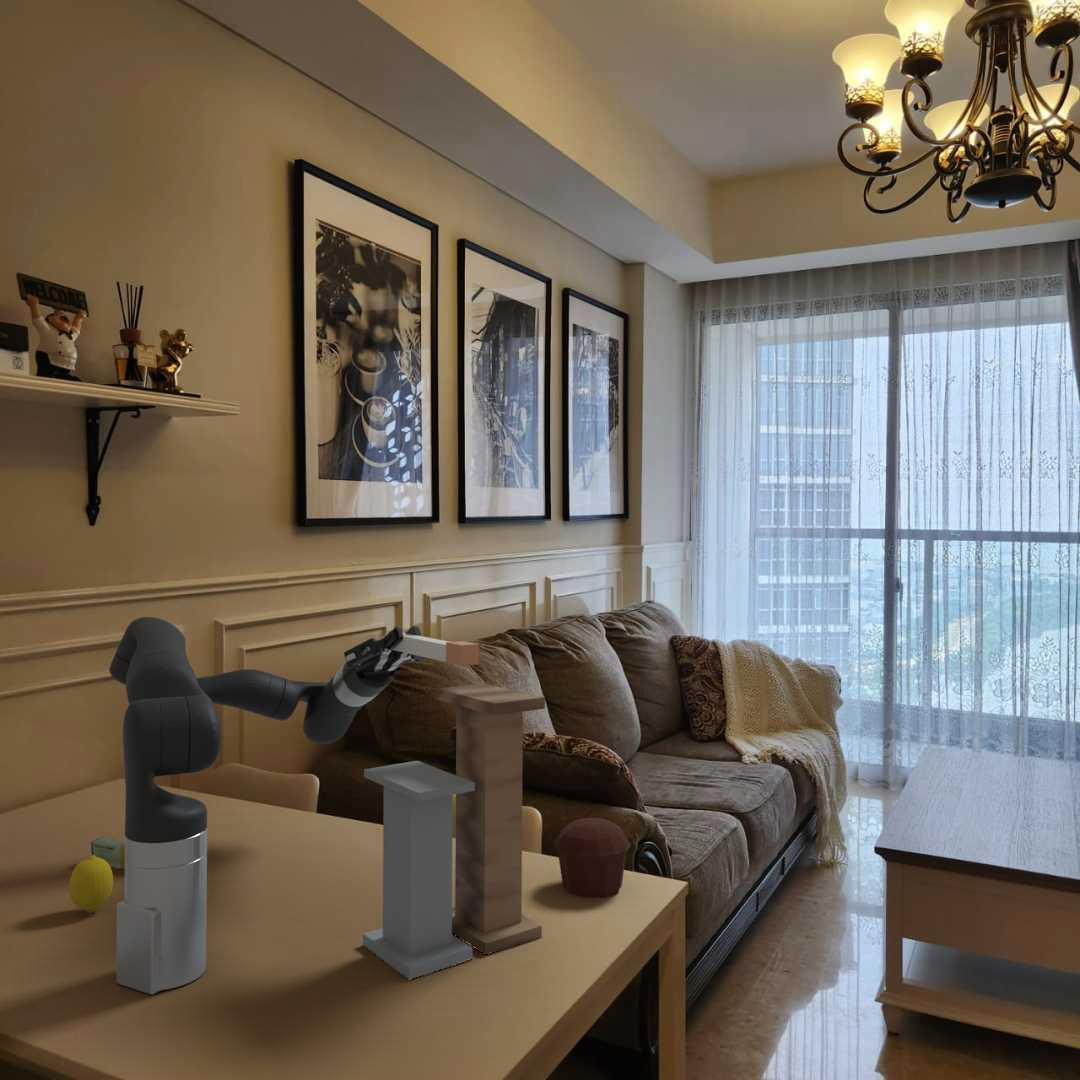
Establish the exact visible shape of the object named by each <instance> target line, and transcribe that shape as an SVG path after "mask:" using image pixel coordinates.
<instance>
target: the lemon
mask: <svg viewBox="0 0 1080 1080" xmlns="http://www.w3.org/2000/svg"><path fill="white" fill-rule="evenodd" d="M68 886H69V889H68V890H69V896H70V899H71V901H72V903H73V904H74V905H75V906H76V907H78V908H79V909H82V910H85V911H86V912H88V913H90V914H91V912H92V913H94V912H95V911H96V910H97V909H98V908H100V907H101V906H103V905H104V904H106V902H107V901H108V900H109V898H110V896H111V894H112V893H113V888H114V874H113V871H112V867H110V865H109V864H108V863H107V862H106V861H105V860H104V859H101V858H98V857H95V856H94V855H92V854H91V855H89V856H88V857H87V858H84V859H83V860H82V861H80V862H79V863H77V864H76V866H75V867H74V869H73V871H72V873H71V876H70V880H69V885H68Z"/></svg>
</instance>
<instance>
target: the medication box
mask: <svg viewBox="0 0 1080 1080" xmlns="http://www.w3.org/2000/svg"><path fill="white" fill-rule="evenodd" d="M90 844H91V845H90V847H91V849H90V851H91V855H94V856H95V857H98V858H101V859H104V860H105V861H106V862H107V863H108V864H109V865H110V866H111V868H112V867H117V868H116V869H118V868H123V869H122V870H124V869H125V839H119V838H118V839H117V838H113V837H106V836H101V837H98V838H95V839H94V840H92V841H91V842H90Z"/></svg>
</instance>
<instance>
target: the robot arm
mask: <svg viewBox="0 0 1080 1080" xmlns="http://www.w3.org/2000/svg"><path fill="white" fill-rule="evenodd" d="M402 629H403V628H402V626H395V627H393V628H392V630H390V631H389V632H387V633H388V634H387V635H386V634H385V635H382V636H380V637H379V639H378V640H377V639H376V638H374V637H373V638H369V639H367V640H365V641H363V642H362V643H359V644H357V645H355V646H354V647H351V648H350V649H348V650H346V651H344V652H343V655H344V660H345V662H344V663H343V664H342V665H341V666H340V667H339V669H338V670H337V672H336V673H335V675H334V676H333V677H332V678H331V679H330V680H329V681H328V682H323V681H322V682H316V681H315V682H313V681H301V680H291V679H289V678H288V679H287V678H285V677H281V676H278V675H275V674H272V673H270V672H266V671H263V670H259V669H249V668H248V669H238V670H233V671H228V672H227V671H226V672H223V673H217V674H215V675H213V674H212V675H209V676H208V675H207V676H202V677H197V676H196V674H195V673H196V672H195V671H194V669H193V667H192V665H191V664H190V661H189V658H188V656H187V651H186V637H185V636H184V634H183V633H182V631H181V630H180V629H179V628H178V627H176V626H175V625H174V624H172V623H170V622H168V621H166V620H164V619H162V618H158V617H152V616H141V617H139V618H136V619H133V621H131V622H130V623H129V625H128V626H127V628H126V629H125V631H124V633H123V636H122V637H121V639H120V642H119V644H118V646H117V648H116V651H115V654H114V656H113V658H112V660H111V663H110V665H109V674H110V676H111V677H112V678H113V679H115V680H116V682H119V683H121V684H123V685H125V692H126V698H127V701H128V706H127V708H126V711H125V712H124V717H123V723H122V725H123V726H122V746H123V762H124V766H123V767H124V780H125V781H124V782H125V783H124V785H125V810H124V811H125V813H124V815H125V818H124V840H125V870H124V882H123V883H124V886H123V887H124V896H123V899H124V900H121V901H119V902H118V903H117V905H116V973H115V974H116V980H115V982H116V984H119V985H121V986H125V987H127V988H131V989H134V990H137V991H139V992H143V993H145V994H148V995H155V994H156V993H158V992H160V991H165V990H171V989H175V988H179V987H181V986H185V985H187V984H190V983H191V982H193V981H196V980H197V979H199V978H200V977H201V976H202V975H203V974H204V973H205V971H206V969H207V910H208V909H207V903H208V901H207V900H208V899H207V897H208V896H207V895H208V893H207V891H208V886H207V885H208V884H207V881H208V879H207V878H208V876H207V875H208V809H207V806H206V805H205V804H204V802H203V801H201V800H199V799H197V798H194V797H189V796H185V795H181V794H176V793H174V792H173V793H172V792H170V791H167V790H165V789H163V788H162V787H160V786H158V785H157V784H156V783H155V782H154V779H155V778H156V777H163V776H173V775H175V776H176V775H183V774H194V773H198V772H201V771H204V770H207V769H209V768H210V767H211V766H213V765H214V763H215V762H216V760H217V759H218V757H219V755H220V752H221V747H222V739H223V734H222V733H223V731H222V725H221V720H220V715H219V713H218V710H217V708H216V706H215V704H216V705H221V706H227V707H231V708H236V709H239V710H244V711H247V712H250V713H253V714H257V715H260V716H263V717H267V718H270V719H274V720H276V721H287V720H288V719H289V718H290V717H292V716H293V713H294V711H296V708H297V706H298V705H299V702H304V703H307V704H306V708H305V713H304V717H303V718H304V719H303V721H302V731H303V734H304V736H305V737H306V738H307V739H308V740H309V741H311V742H312V743H314V744H317V745H329V744H332V743H335V742H337V741H339V739H340V740H341V738H342V737H343V736H344V735H345V733H346V732H347V730H348V729H349V727H350V725H351V724H352V722H353V720H354V718H355V716H356V714H357V712H358V711H360V710H361V709H362V707H364V706H365V705H366V704H368V703H369V702H371V701H372V700H373V699H374V698H376V697H377V696H378V695H379V694H380V693H381V692H382V691H383V690H384V689H385V688H386V687H387V686H389V685H390V684H391V682H392V681H393V680H394V678H395V675H396V672H397V669H398V668H399V667H401V666H404V664H405V662H406V661H408V660H409V661H410V660H411V661H412V662H414V663H419V662H422V660H423V659H422V656H417V655H413V654H408V653H404V652H400V651H395V650H391V649H394V648H395V647H396V646H397V645H398V644H399V643H400V642H401V641H402V640H403V633H404V632H403V630H402ZM405 633H407V634H412V635H418V636H422V633H421V629H420V627H419V626H418V625H412V626H410V628H408V630H406V632H405Z"/></svg>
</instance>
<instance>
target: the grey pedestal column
mask: <svg viewBox="0 0 1080 1080" xmlns="http://www.w3.org/2000/svg"><path fill="white" fill-rule="evenodd" d="M363 777H364V778H365V779H368V780H370V781H372V782H375V783H377V784H379V785H381V786H383V818H382V819H383V822H382V823H383V825H382V826H383V828H382V829H383V835H382V837H383V838H382V839H383V840H382V841H383V842H382V843H383V845H382V846H383V848H382V850H383V851H382V854H383V855H382V858H383V859H382V927H381V928H378V929H375V930H371V931H367V932H363V933H362V945H363V947H365V948H366V947H367V948H368V950H369V951H370V950H371V951H372V952H371V951H370V952H371V953H373V954H374V953H375V954H376V956H377V957H378V956H379V957H380V960H382V959H383V960H384V961H383V962H385V963H386V962H387V963H388V964H387V963H386V964H387V965H389V964H390V965H391V966H392V967H391V966H390V965H389V966H390V967H391V968H393V967H394V968H393V970H395V969H396V970H395V971H396V972H398V971H399V972H400V973H399V972H398V973H399V974H401V975H402V974H403V975H404V976H405V977H404V976H403V975H402V976H403V977H404V978H406V977H407V978H408V979H412V980H414V979H413V978H415V979H417V978H416V977H418V978H420V977H419V976H421V977H423V976H422V975H424V976H426V975H425V974H427V975H429V974H428V973H430V974H432V973H431V972H433V973H435V972H434V971H437V970H440V969H443V970H445V969H444V968H446V967H448V966H452V965H453V964H457V963H459V962H462V961H466V960H467V959H471V958H472V959H473V949H474V948H473V947H472V946H470V945H468V944H467V943H465V942H464V941H462V940H461V939H459V938H457V937H456V936H454V935H453V934H452V908H453V809H454V808H453V807H454V806H453V804H454V803H453V802H454V800H453V798H454V797H453V795H454V796H456V794H460V793H465V792H470V791H475V782H472V781H469V780H467V779H464V778H462V777H459V776H456V774H453V773H451V772H448V771H446V770H442V769H440V768H438V767H435V766H433V765H430V764H427V763H425V762H422V761H419V760H413V761H408V762H402V763H395V764H390V765H389V764H387V765H384V766H383V765H382V766H377V767H376V766H375V767H371V768H365V769H363ZM367 948H366V949H367ZM375 954H374V955H375ZM379 957H378V958H379ZM452 967H453V966H452ZM446 969H447V968H446ZM440 971H441V970H440ZM437 972H438V971H437ZM407 978H406V979H407ZM408 979H407V980H408Z"/></svg>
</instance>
